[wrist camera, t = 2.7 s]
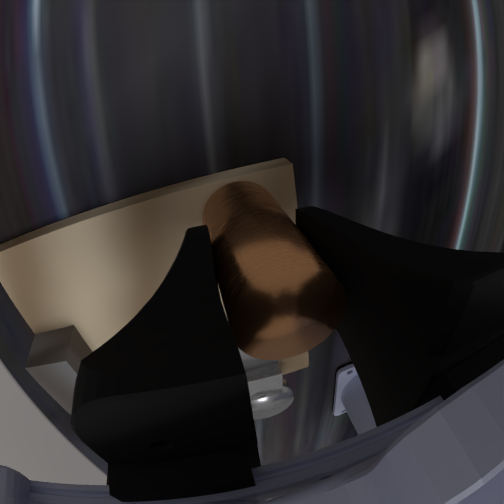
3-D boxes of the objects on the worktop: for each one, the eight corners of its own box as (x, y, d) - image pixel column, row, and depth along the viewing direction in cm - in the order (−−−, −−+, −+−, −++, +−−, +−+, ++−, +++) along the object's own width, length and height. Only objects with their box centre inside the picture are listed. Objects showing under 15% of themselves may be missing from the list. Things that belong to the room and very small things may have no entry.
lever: (283, 386, 20) (314, 463, 15) (233, 399, 19) (256, 479, 14) (279, 174, 12) (359, 255, 7) (191, 188, 12) (214, 286, 7)
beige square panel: (284, 157, 13) (317, 183, 10) (303, 357, 21) (322, 395, 18) (-6, 246, 12) (-35, 288, 9) (107, 405, 19) (106, 445, 16)
